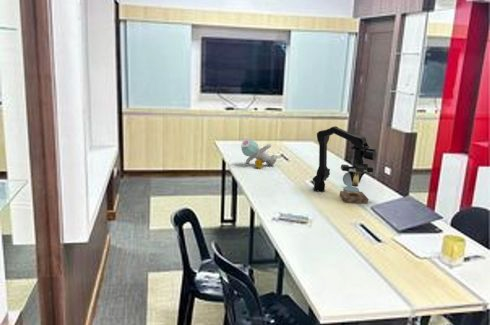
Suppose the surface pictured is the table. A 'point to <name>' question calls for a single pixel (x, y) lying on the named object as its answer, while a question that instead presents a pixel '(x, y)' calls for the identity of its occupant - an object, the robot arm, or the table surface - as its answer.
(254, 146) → the toy
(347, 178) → the pocket watch
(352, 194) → the jig block
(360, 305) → the table surface
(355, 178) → the gold cylinder
